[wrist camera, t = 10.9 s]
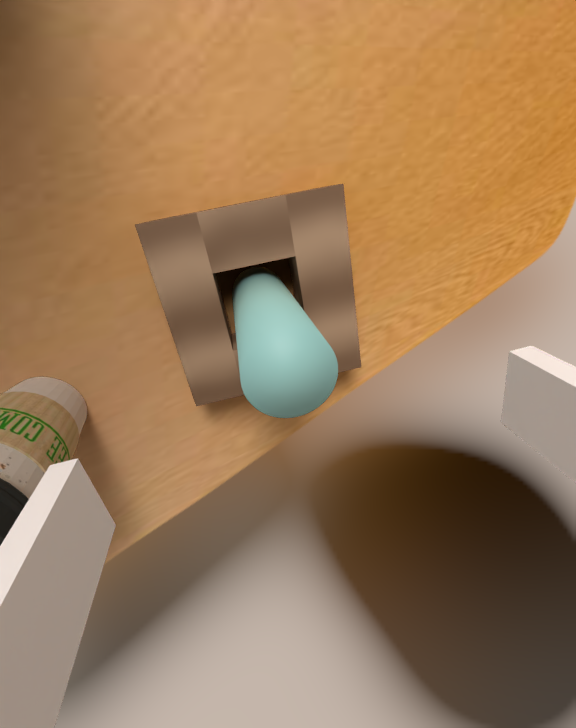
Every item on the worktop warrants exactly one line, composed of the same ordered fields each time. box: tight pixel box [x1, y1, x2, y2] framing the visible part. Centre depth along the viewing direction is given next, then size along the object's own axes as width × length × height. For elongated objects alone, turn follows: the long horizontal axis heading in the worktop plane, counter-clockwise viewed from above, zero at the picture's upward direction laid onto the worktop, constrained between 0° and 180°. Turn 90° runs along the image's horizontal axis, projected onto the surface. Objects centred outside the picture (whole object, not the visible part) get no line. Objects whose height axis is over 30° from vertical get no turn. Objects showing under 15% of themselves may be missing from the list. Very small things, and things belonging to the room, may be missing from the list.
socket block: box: [135, 184, 361, 406], centre depth 29 cm, size 14×14×4 cm
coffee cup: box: [0, 377, 87, 546], centre depth 25 cm, size 10×10×15 cm
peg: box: [232, 267, 338, 418], centre depth 23 cm, size 4×4×16 cm
